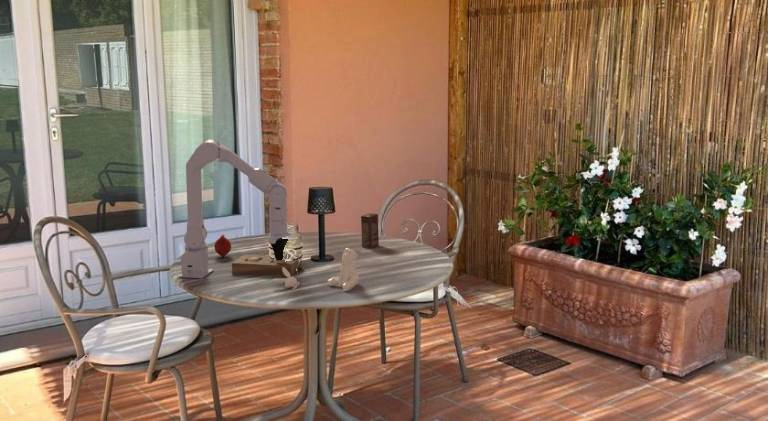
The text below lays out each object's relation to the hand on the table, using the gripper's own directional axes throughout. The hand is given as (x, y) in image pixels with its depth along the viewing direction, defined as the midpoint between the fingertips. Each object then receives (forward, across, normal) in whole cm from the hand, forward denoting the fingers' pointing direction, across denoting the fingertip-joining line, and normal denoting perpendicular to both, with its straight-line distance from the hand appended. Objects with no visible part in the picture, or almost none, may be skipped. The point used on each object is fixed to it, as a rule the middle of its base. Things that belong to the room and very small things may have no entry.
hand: (279, 259), depth 257 cm
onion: (+4, +14, +26) cm, 29 cm away
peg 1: (+3, 0, +9) cm, 10 cm away
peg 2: (+3, 0, 0) cm, 3 cm away
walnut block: (+4, 0, +4) cm, 6 cm away
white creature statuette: (+4, -12, -26) cm, 28 cm away
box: (+4, +39, -22) cm, 45 cm away
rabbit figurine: (+4, -17, -8) cm, 19 cm away
